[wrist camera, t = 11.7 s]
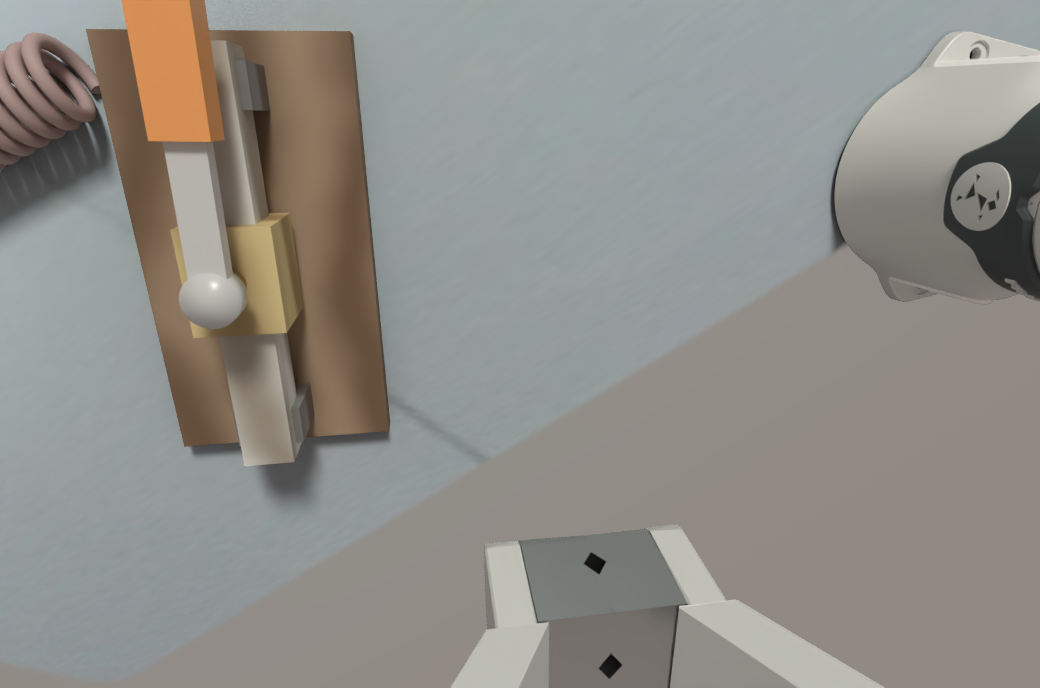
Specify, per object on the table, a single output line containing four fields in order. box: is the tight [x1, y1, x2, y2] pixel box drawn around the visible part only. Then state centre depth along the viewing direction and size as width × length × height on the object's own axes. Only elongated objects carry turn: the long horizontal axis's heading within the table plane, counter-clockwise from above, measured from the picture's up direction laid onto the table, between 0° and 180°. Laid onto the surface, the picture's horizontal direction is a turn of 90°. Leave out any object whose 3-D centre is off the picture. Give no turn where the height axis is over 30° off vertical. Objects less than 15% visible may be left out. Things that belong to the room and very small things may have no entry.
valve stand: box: [86, 29, 390, 466], centre depth 36 cm, size 14×26×9 cm, turn 1°
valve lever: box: [122, 0, 248, 329], centre depth 28 cm, size 15×3×2 cm, turn 179°
